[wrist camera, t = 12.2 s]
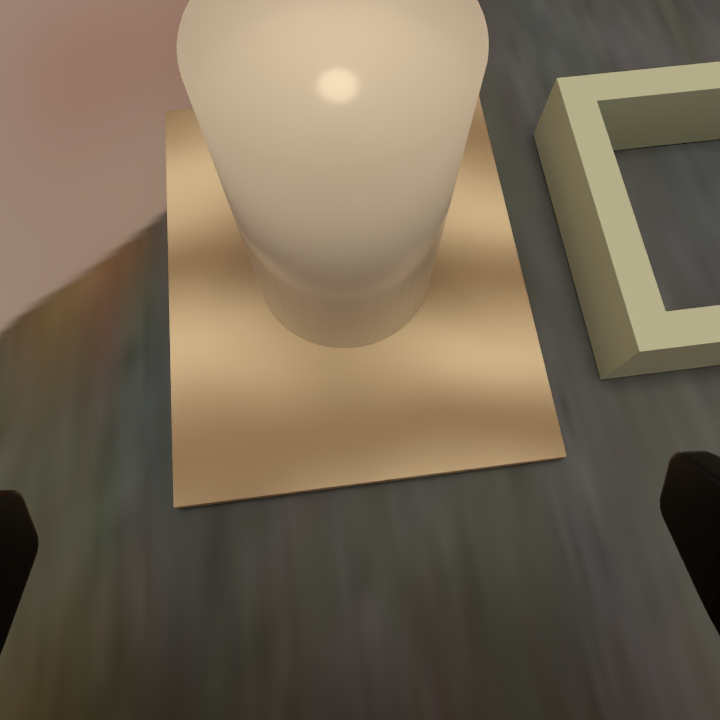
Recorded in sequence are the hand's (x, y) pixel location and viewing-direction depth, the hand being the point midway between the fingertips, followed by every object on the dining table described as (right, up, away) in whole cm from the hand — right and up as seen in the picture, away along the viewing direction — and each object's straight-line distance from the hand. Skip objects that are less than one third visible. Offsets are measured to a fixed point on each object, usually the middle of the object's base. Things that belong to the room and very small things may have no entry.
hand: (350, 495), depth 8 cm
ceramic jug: (0, +5, +13) cm, 14 cm away
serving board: (0, +5, +14) cm, 15 cm away
